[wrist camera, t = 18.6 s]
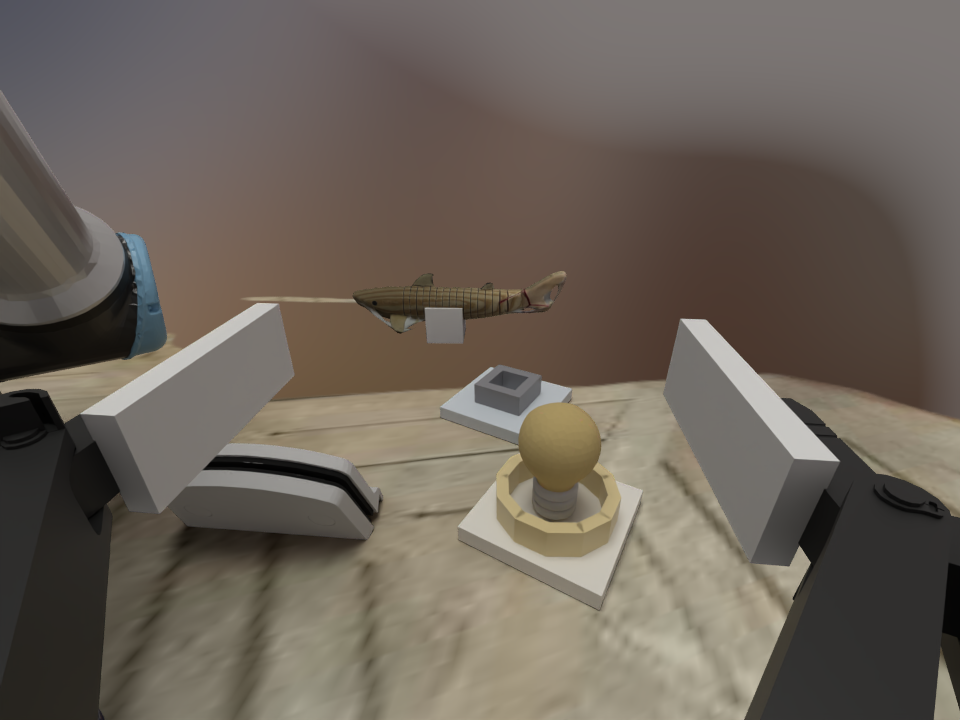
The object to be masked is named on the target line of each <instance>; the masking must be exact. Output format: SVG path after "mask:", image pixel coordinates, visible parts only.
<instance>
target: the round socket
mask: <svg viewBox="0 0 960 720" xmlns="http://www.w3.org/2000/svg"><path fill="white" fill-rule="evenodd" d="M533 477H534V476H533V474H532V473H531V472H530V471H529V470H528V468H527V467H526V466H525V464H524V462H523V460H522V458H521V455H520V452H519V453H518V454H517V455H514V456H512V457H510V459H509V460H508V461H507V462H506V463H505V464H504V466H503V467H502V468H501V469H500V470H499V472H498V473H497V474H496V481H495V482H494V483H493V485H492V486H491V487H490V488H489V489H488V491H487V492H486V493H485V494H484V496H483V497H482V498H481V499H480V500H479V502H478V503H477V504H476V505H475V506H474V508H473V509H472V510H471V511H470V512H469V514H468V515H467V516H466V517H465V518H464V520H463V521H462V522H461V523H460V524H459V526H458V540H460V541H462V542H464V543H466V544H468V545H470V546H472V547H474V548H476V549H478V550H480V551H482V552H484V553H486V554H488V555H490V556H492V557H494V558H496V559H498V560H500V561H502V562H504V563H506V564H508V565H510V566H512V567H514V568H516V569H518V570H520V571H522V572H524V573H526V574H528V575H530V576H532V577H534V578H536V579H538V580H540V581H542V582H544V583H546V584H548V585H550V586H552V587H554V588H556V589H558V590H560V591H562V592H564V593H566V594H568V595H570V596H572V597H574V598H576V599H578V600H580V601H582V602H584V603H586V604H588V605H590V606H592V607H594V608H596V609H598V610H600V608H601V605H602V602H603V600H604V597H605V595H606V592H607V589H608V587H609V584H610V581H611V579H612V576H613V574H614V571H615V568H616V566H617V563H618V561H619V558H620V555H621V553H622V550H623V547H624V545H625V542H626V540H627V537H628V534H629V532H630V529H631V527H632V524H633V521H634V519H635V516H636V513H637V511H638V508H639V506H640V503H641V498H642V493H643V490H640V489H638V488H635V487H632V486H629V485H626V484H624V483H621V482H618V481H615V479H614V476H613V474H611V473H610V472H609V471H608V470H607V469H605V468H604V467H603V466H602V465H600V464H599V463H598V462H597V464H596V465H595V467H594V468H593V470H592V471H591V472H590V473H589V474H588V475H587V476H586V477H585V478H583V479H582V480H580V481H579V482H578V483H579V484H578V491H577V493H578V494H577V501H576V509H575V511H574V512H573V514H572V515H571V516H569V517H567V518H565V519H560V520H553V519H548V518H546V517H543V516H542V515H540V514H539V513H538V512H537V511H536V510H535V509H534V507H533V504H532V488H533Z"/></svg>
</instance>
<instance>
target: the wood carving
mask: <svg viewBox="0 0 960 720" xmlns="http://www.w3.org/2000/svg"><path fill="white" fill-rule="evenodd" d="M432 276H433V274H424V275H422V276H420V277H419V278H418V279H417V280H416V281H415V282H414V284H413V285H412V286H406V287H384V288H374V289H365V290H360V291H356V292H354V293H353V298H354V299H355V301H356V302H357V303H358V304H359V305H360V306H363V307H365V308H366V309H368V310H369V311H370V312H371V313H372V314H374V315H375V316H376V317H378V318H379V319H380V320H382V321H383V322H385V323H386V324H387V325H388V326H390V327H391V328H392V329H393V330H395V331H396V332H397V333H402V332H406V331H408V330H410V329H407V328H408V327H410V326H412V325H413V324H415V323H417V322H420V321H426V335H427V343H463V341H464V335H465V330H466V325H465V320H467V319H477V318H485V317H492V316H497V315H503V314H509V313H535V312H545V311H548V310H549V309H550V307H551V306H552V304H553V302H554V301H555V299H556V298H557V296H558V295H559V293H560V291H561V289H562V287H563V285H564V283H565V280H566V276H567V275H566V273H565V272H564V271H559V272H556V273H554V274H552V275H549V276H547V277H545V278H543V279H542V280H540V281H539V282H537V283H534V284H533V285H531V286H530V287H528V288H525V289H521V290H502V289H500V290H499V289H494V286H493V284H492V283H487V284H486V285H484V286H483V287H482V288H459V287H458V288H456V287H454V288H447V287H446V288H444V287H440V288H436V287H435V286H434V285H433V279H432ZM556 285H558V293H557V295H556V297H555V299H554V301H552V300H551V299H550V293H551V291H552V289H553V288H554V287H555V286H556ZM524 308H533V309H536V310H531V311H520V310H524ZM381 316H382V317H385V318H388V319H390V322H387V321H385V320H384V319H383V318H382V317H381Z"/></svg>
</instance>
